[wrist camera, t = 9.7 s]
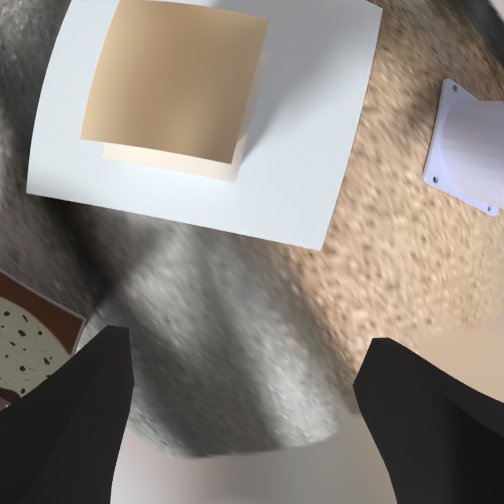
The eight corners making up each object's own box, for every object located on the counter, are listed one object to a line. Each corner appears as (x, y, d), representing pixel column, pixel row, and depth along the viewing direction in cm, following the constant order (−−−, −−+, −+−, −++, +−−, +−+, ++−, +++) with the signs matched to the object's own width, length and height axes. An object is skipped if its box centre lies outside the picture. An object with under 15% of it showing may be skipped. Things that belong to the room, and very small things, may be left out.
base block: (260, 67, 14) (270, 52, 11) (231, 175, 16) (235, 183, 13) (148, 46, 13) (135, 28, 10) (121, 154, 14) (101, 158, 12)
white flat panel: (375, 13, 14) (382, 8, 13) (315, 245, 19) (320, 250, 18) (100, -42, 10) (96, -49, 9) (34, 190, 15) (26, 193, 14)
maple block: (251, 57, 11) (270, 19, 7) (225, 156, 12) (231, 164, 8) (148, 40, 10) (120, -1, 6) (122, 138, 12) (79, 139, 7)
